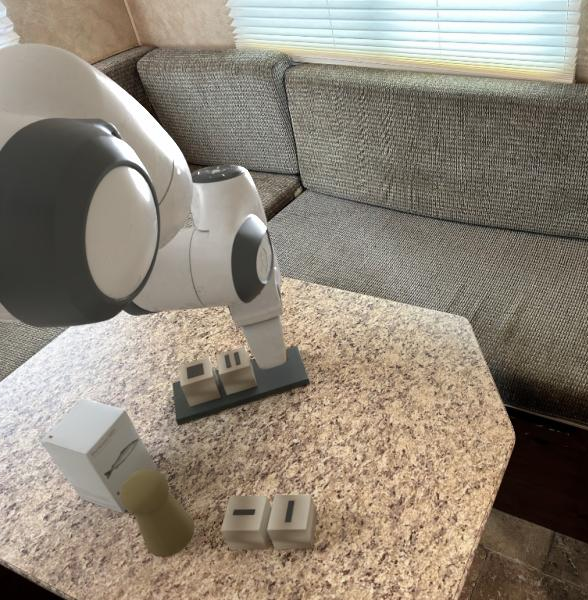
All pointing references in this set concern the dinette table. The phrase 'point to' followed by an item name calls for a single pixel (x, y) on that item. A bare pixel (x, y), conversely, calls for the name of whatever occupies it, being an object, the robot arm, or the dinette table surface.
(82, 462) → the white packaging box
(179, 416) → the slate board
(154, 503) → the olive game pawn
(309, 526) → the white block
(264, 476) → the dinette table surface
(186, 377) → the tile
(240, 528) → the off-white cube
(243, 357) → the tile
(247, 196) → the robot arm
